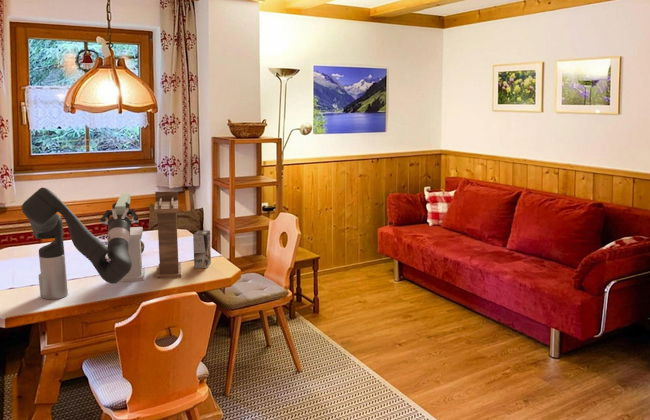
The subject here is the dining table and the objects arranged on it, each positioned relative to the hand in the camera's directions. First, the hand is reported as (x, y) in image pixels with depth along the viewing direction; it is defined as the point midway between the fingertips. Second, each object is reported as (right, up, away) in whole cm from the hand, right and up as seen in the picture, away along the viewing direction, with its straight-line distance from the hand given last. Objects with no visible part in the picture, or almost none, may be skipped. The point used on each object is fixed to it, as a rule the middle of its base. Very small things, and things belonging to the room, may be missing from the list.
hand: (121, 204), depth 221 cm
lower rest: (-8, -32, +37) cm, 50 cm away
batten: (-2, -2, +8) cm, 8 cm away
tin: (-20, -25, +69) cm, 76 cm away
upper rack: (+7, -31, +44) cm, 54 cm away
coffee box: (+19, -29, +55) cm, 65 cm away
